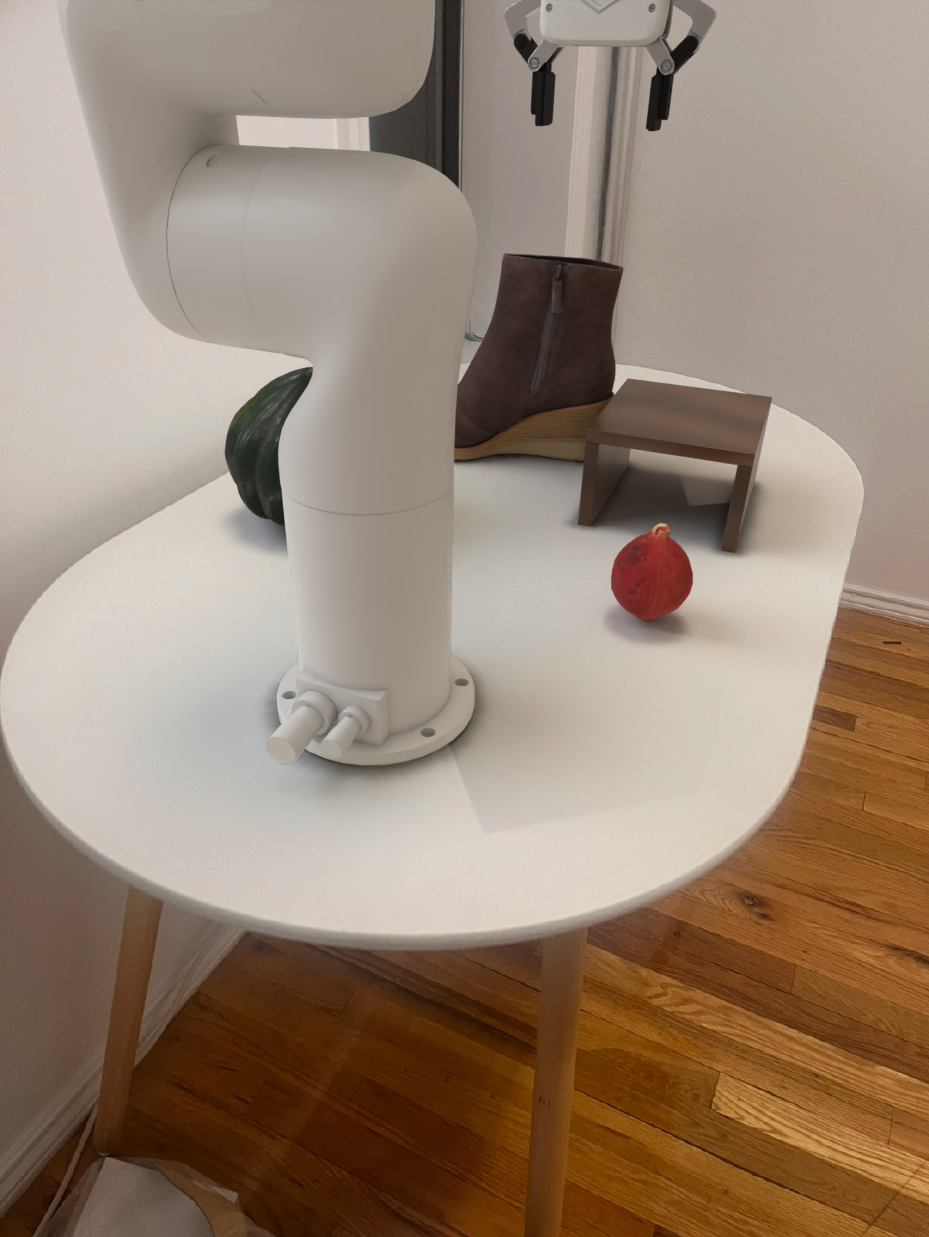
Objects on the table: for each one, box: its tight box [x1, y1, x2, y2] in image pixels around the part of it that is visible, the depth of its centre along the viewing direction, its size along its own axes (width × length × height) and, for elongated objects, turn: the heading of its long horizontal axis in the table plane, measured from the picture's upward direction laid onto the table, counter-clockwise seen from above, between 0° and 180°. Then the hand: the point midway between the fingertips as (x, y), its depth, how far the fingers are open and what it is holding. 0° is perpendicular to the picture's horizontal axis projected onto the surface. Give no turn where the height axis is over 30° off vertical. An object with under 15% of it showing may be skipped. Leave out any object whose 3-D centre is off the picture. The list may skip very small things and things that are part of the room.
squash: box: [224, 366, 313, 527], centre depth 77 cm, size 14×15×15 cm
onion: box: [610, 522, 694, 623], centre depth 64 cm, size 6×6×8 cm
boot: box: [454, 252, 625, 462], centre depth 90 cm, size 9×24×20 cm, turn 84°
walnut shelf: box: [577, 377, 773, 553], centre depth 82 cm, size 16×14×9 cm
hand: (597, 128), depth 76 cm, fingers open, 9 cm apart
